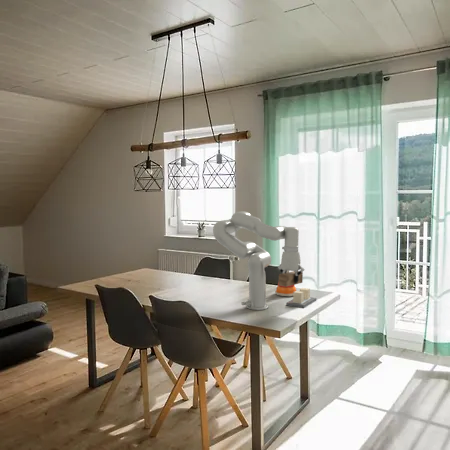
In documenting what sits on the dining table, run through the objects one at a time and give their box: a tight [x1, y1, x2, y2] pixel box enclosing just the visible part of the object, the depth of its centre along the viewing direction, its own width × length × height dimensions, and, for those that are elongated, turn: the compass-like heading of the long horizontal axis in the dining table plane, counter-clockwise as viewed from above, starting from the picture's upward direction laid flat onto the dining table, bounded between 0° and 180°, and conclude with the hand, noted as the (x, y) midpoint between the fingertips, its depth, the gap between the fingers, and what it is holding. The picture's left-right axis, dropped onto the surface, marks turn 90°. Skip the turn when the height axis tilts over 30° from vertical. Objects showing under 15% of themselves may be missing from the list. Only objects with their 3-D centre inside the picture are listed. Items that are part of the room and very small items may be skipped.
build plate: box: [286, 287, 317, 309], centre depth 259 cm, size 20×11×8 cm, turn 148°
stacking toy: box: [274, 270, 297, 297], centre depth 279 cm, size 14×14×20 cm
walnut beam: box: [278, 271, 304, 287], centre depth 238 cm, size 15×5×6 cm, turn 134°
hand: (290, 281), depth 238 cm, fingers closed on walnut beam, 5 cm apart
